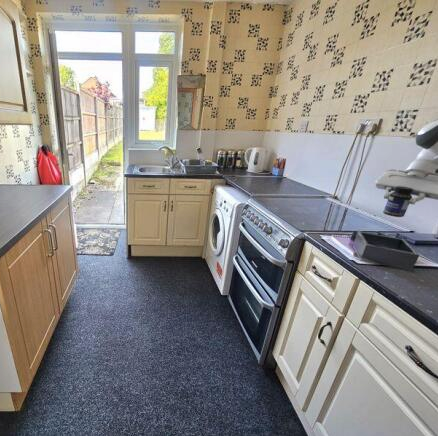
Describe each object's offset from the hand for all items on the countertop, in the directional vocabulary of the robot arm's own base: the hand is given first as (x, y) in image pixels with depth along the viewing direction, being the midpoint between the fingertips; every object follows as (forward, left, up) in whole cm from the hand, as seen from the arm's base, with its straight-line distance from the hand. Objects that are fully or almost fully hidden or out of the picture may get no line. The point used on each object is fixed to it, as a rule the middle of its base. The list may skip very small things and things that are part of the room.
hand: (398, 200), depth 94 cm
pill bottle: (0, -1, -6) cm, 6 cm away
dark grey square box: (+4, +16, -19) cm, 25 cm away
